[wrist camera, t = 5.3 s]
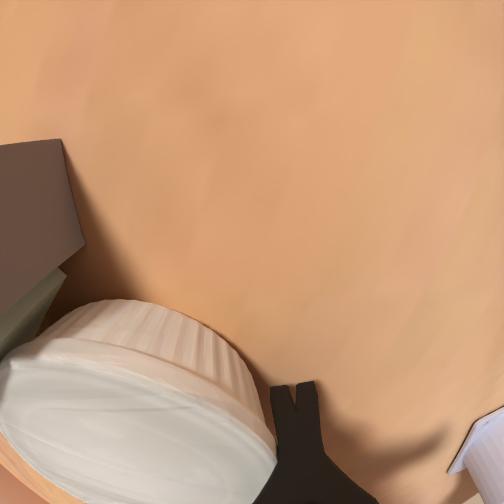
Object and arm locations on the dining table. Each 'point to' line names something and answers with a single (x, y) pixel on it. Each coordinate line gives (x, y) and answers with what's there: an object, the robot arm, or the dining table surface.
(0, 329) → the door
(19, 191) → the grey angled pieces
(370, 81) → the dining table surface
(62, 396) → the ramekin
